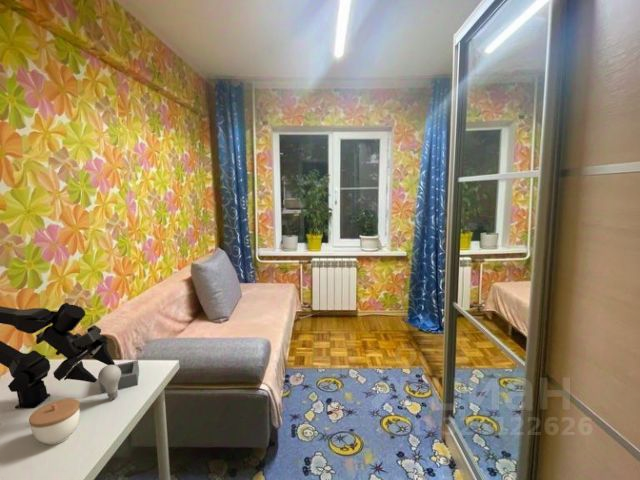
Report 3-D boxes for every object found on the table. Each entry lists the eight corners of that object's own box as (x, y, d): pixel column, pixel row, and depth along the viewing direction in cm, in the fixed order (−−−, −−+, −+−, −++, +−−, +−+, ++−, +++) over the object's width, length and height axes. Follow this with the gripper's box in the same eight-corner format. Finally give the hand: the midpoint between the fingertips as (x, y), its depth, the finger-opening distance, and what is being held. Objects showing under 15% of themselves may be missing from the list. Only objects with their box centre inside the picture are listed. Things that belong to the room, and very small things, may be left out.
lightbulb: (114, 405, 108) (109, 371, 106) (97, 404, 109) (91, 370, 108) (129, 393, 114) (124, 361, 112) (112, 392, 115) (107, 360, 114)
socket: (101, 393, 115) (99, 382, 114) (105, 378, 124) (104, 367, 124) (137, 385, 119) (136, 373, 118) (139, 370, 128) (137, 360, 128)
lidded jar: (40, 430, 98) (34, 399, 97) (86, 418, 103) (81, 388, 101) (28, 457, 89) (21, 422, 87) (79, 442, 93) (73, 409, 91)
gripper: (56, 335, 98) (102, 370, 100) (98, 311, 117) (136, 341, 119) (33, 363, 100) (79, 398, 101) (78, 335, 118) (116, 364, 120)
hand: (105, 373), depth 110 cm, fingers open, 9 cm apart
